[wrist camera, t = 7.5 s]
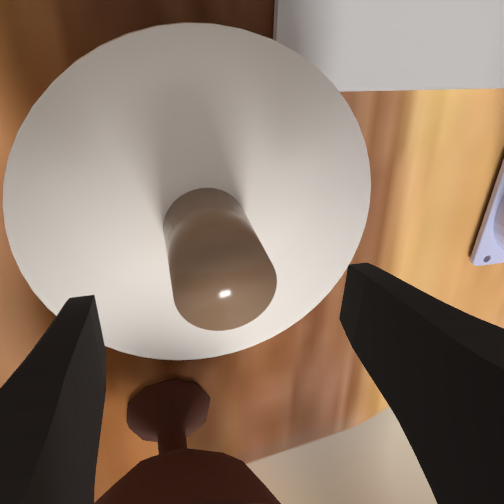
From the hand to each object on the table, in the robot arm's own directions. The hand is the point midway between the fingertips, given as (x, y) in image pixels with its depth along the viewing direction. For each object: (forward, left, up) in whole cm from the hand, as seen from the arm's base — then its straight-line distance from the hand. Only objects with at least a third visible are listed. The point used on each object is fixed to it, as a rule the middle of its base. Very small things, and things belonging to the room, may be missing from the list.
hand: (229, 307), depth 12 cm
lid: (0, 0, -5) cm, 5 cm away
